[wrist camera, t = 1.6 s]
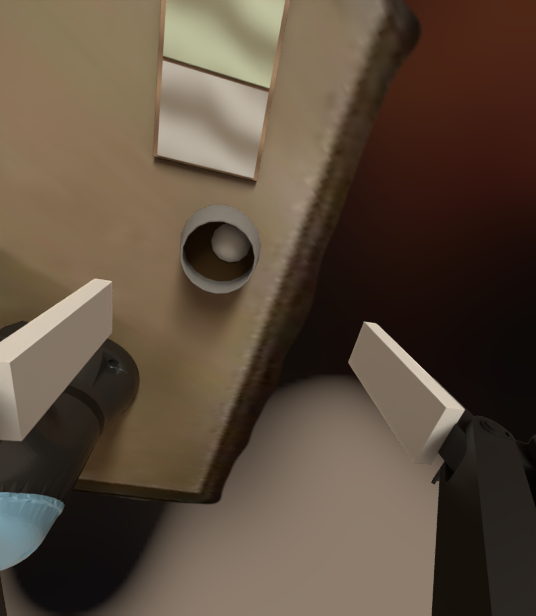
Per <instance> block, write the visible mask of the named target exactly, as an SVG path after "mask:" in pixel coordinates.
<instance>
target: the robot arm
mask: <svg viewBox="0 0 536 616" xmlns="http://www.w3.org/2000/svg"><path fill="white" fill-rule="evenodd" d="M111 333H112V281H107V280H101V279H93V280H92V281H90V282H89V283H88V284H86V285H85V286H83V287H82V288H80V289H79V290H77V291H76V292H74V293H73V294H71V295H70V296H68V297H67V298H65V299H64V300H62V301H61V302H59V303H58V304H56V305H55V306H53V307H52V308H50V309H49V310H47V311H46V312H44V313H43V314H41V315H40V316H38V317H37V318H35V319H34V320H32V321H31V322H24V321H21V322H18V323H15V324H12V325H9V326H6V327H4V328H2V329H0V571H1V570H4V569H6V568H9V567H11V566H13V565H15V564H17V563H19V562H21V561H22V560H24V559H25V558H27V557H28V556H29V555H31V554H32V553H33V552H34V551H35V550H36V549H37V548H38V546H39V545H40V544H41V542H42V541H43V539H44V538H45V536H46V534H47V533H48V531H49V529H50V528H51V526H52V524H53V523H54V521H55V519H56V518H57V516H59V515H60V514H61V512H62V510H63V508H64V505H65V503H66V501H67V500H68V498H69V496H70V494H71V492H72V490H73V488H74V486H75V484H76V482H77V480H78V478H79V476H80V474H81V472H82V470H83V468H84V466H85V464H86V462H87V460H88V458H89V456H90V454H91V452H92V450H93V448H94V446H95V444H96V442H97V440H98V438H99V437H100V435H101V433H102V431H103V430H104V429H105V428H106V427H107V426H108V425H109V424H111V423H112V422H113V421H114V420H115V419H116V418H117V417H118V416H119V415H120V414H121V413H123V412H124V411H125V410H126V409H127V407H128V406H129V405H130V403H131V402H132V400H133V398H134V396H135V394H136V392H137V389H138V386H139V372H138V369H137V366H136V364H135V362H134V360H133V359H132V358H131V356H130V355H129V354H128V353H127V352H126V351H125V350H124V349H123V348H122V347H121V346H119V345H118V344H116V343H115V342H113V341H111V340H109V339H107V338H108V337H109V335H110V334H111ZM348 363H349V364H350V366H351V367H352V369H353V371H354V372H355V374H356V375H357V377H358V378H359V380H360V381H361V383H362V385H363V386H364V388H365V389H366V391H367V392H368V394H369V395H370V397H371V398H372V400H373V402H374V403H375V405H376V406H377V408H378V409H379V411H380V412H381V414H382V415H383V417H384V418H385V420H386V422H387V423H388V425H389V426H390V428H391V429H392V431H393V433H394V434H395V436H396V437H397V439H398V440H399V442H400V443H401V445H402V446H403V448H404V449H405V451H406V453H407V454H408V456H409V457H410V459H411V460H412V462H413V463H414V464H429V465H431V464H432V462H433V460H434V459H435V457H436V455H437V454H438V453H439V454H440V455H441V457H442V458H443V459H444V463H443V464H442V466H441V467H440V469H439V470H438V472H437V474H436V475H435V477H434V478H433V480H432V482H431V483H433V484H435V483H436V481H439V497H438V514H437V531H436V549H435V566H434V584H433V601H432V616H536V435H534V436H533V438H532V439H531V440H530V441H529V443H528V444H526V443H523V442H520V441H517V440H515V439H514V438H513V436H512V435H511V434H510V433H509V432H508V431H507V430H506V429H505V428H503V427H502V426H500V425H499V424H497V423H495V422H493V421H492V420H490V419H487V418H485V417H481V416H473V415H472V414H471V413H470V412H469V411H468V410H467V409H465V407H463V406H462V405H461V404H460V403H459V402H458V401H457V400H456V399H455V398H454V397H453V396H452V395H450V393H449V392H448V391H447V390H446V389H444V387H443V386H442V385H441V384H440V383H439V382H438V381H437V380H435V379H434V378H432V377H431V376H430V375H429V374H427V372H426V371H425V370H424V369H423V368H422V367H421V366H420V365H419V364H417V363H416V362H415V361H414V360H413V359H412V358H411V357H410V356H409V355H408V354H407V353H406V352H405V351H404V350H403V349H402V348H401V347H400V346H399V345H398V344H397V343H396V342H395V341H394V340H393V339H391V337H389V335H388V334H386V333H385V332H384V331H383V330H382V329H381V328H380V327H379V326H378V325H377V324H375V323H368V322H364V324H363V326H362V329H361V331H360V334H359V336H358V339H357V342H356V344H355V347H354V350H353V352H352V355H351V357H350V360H349V362H348ZM0 616H7V613H6V607H5V601H4V595H3V589H2V583H1V577H0Z"/></svg>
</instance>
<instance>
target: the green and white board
mask: <svg viewBox="0 0 536 616" xmlns="http://www.w3.org/2000/svg"><path fill="white" fill-rule="evenodd" d="M289 4H290V0H161V19H160V37H159V56H158V75H157V94H156V113H155V131H154V150H153V156H154V157H158V158H162V159H167V160H171V161H175V162H179V163H183V164H187V165H191V166H196V167H200V168H204V169H208V170H212V171H216V172H220V173H225V174H229V175H233V176H237V177H241V178H245V179H250V180H254V181H257V178H258V173H259V167H260V162H261V156H262V151H263V146H264V140H265V135H266V129H267V124H268V118H269V113H270V107H271V102H272V97H273V91H274V86H275V80H276V75H277V69H278V64H279V58H280V53H281V47H282V42H283V37H284V31H285V26H286V20H287V15H288V9H289Z"/></svg>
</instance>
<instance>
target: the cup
mask: <svg viewBox="0 0 536 616" xmlns="http://www.w3.org/2000/svg"><path fill="white" fill-rule="evenodd" d="M260 248H261V244H260V239H259V234H258V231H257V229H256V227H255V226H254V224H253V222H252V221H251V219H250V218H249V217H247V216H246V215H245V214H244V213H243V212H241V211H240V210H238V209H235V208H233V207H230V206H227V205H210V206H208V207H205V208H203V209H200V210H198V211H196V212H195V213H194V214H193V215H192V216H191V217H190V218H189V219H188V220H187V222H186V224H185V226H184V229H183V231H182V233H181V244H180V261H181V264H182V267H183V270H184V273H185V274H186V275H187V277H188V278H189V279H190V281H191V282H192V283H193V284H195V285H196V286H198V287H199V288H201V289H202V290H204V291H208V292H211V293H215V294H219V293H229V292H232V291H234V290H237V289H240V288H241V287H242V286H243V285H244V284H245V283H246V282H248V281H249V279H250V277H251V275H252V274H253V272H254V270H255V268H256V265H257V263H258V260H259V254H260Z"/></svg>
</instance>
